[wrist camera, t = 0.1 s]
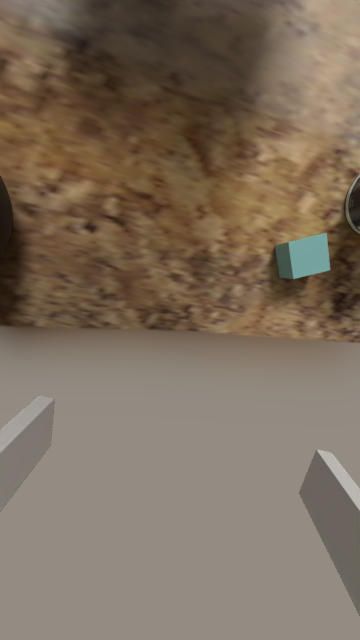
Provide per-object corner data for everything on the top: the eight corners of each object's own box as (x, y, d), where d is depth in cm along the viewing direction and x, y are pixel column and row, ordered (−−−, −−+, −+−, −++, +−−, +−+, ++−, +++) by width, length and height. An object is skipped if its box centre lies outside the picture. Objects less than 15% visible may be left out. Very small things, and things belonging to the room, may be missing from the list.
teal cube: (274, 245, 36) (288, 242, 31) (307, 237, 35) (326, 232, 30) (279, 277, 37) (293, 279, 32) (311, 269, 36) (330, 270, 31)
